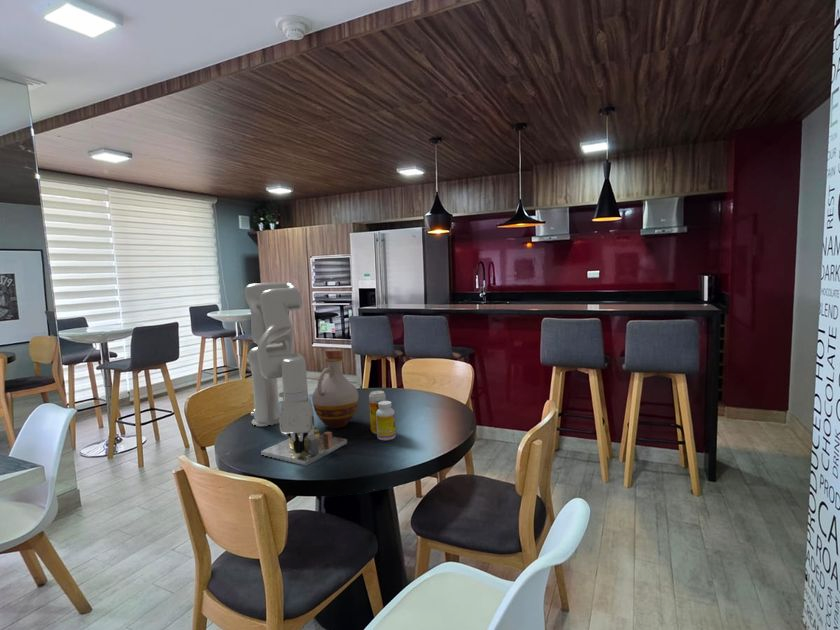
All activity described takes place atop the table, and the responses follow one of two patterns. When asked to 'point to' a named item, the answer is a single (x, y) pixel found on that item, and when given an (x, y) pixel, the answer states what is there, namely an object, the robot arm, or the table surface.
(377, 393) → the orange pill bottle
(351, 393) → the jug
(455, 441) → the table surface
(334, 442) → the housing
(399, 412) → the table surface
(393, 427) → the supplement bottle
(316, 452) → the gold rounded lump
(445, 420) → the table surface
